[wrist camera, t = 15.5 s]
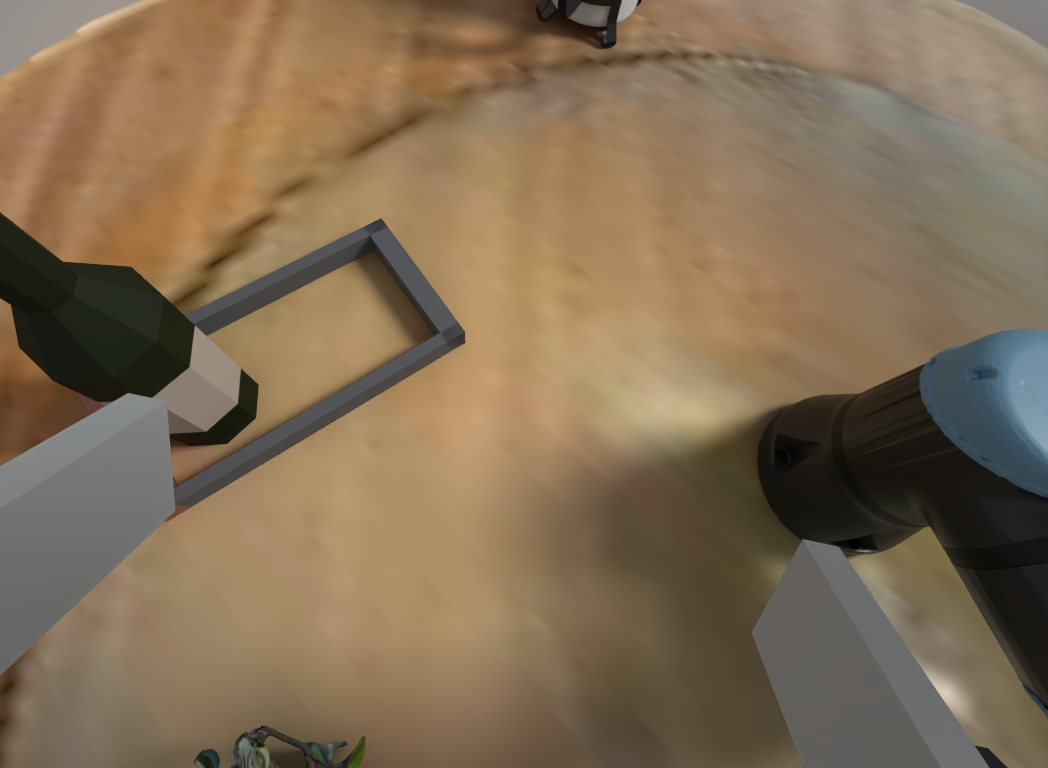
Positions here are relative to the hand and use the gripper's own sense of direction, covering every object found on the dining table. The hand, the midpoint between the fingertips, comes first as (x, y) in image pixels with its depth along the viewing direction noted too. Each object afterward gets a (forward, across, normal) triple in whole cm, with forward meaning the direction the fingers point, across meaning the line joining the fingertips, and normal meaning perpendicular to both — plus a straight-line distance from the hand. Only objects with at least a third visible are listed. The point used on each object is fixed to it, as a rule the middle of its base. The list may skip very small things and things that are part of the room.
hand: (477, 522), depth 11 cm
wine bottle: (+33, -26, -20) cm, 47 cm away
